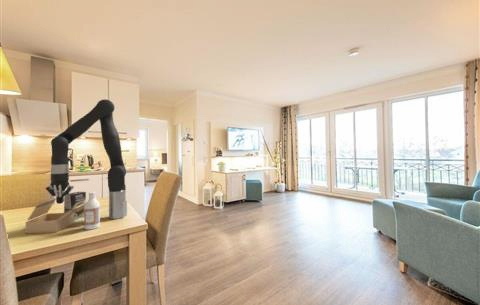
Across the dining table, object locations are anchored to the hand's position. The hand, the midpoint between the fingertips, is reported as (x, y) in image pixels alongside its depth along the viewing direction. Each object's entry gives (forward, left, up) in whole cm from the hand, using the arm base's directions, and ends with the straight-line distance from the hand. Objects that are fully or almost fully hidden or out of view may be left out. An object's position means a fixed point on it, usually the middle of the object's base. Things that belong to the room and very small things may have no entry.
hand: (60, 203), depth 111 cm
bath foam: (-18, +3, -14) cm, 23 cm away
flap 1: (+11, 0, -7) cm, 13 cm away
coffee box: (+1, -15, -14) cm, 20 cm away
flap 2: (-3, 0, -7) cm, 8 cm away
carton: (+4, 0, -14) cm, 14 cm away
